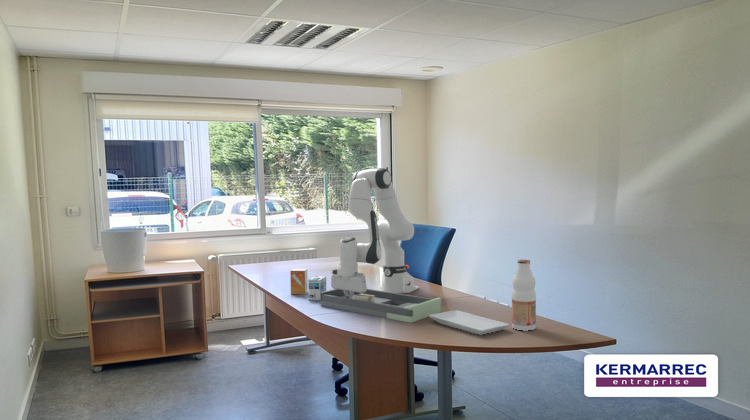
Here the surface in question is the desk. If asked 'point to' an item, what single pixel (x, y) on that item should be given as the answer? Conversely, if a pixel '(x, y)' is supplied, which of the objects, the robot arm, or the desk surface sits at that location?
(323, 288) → the light bulb box
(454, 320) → the tray
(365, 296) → the block
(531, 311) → the fruit juice
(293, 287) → the small box
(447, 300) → the desk surface
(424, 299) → the tray
